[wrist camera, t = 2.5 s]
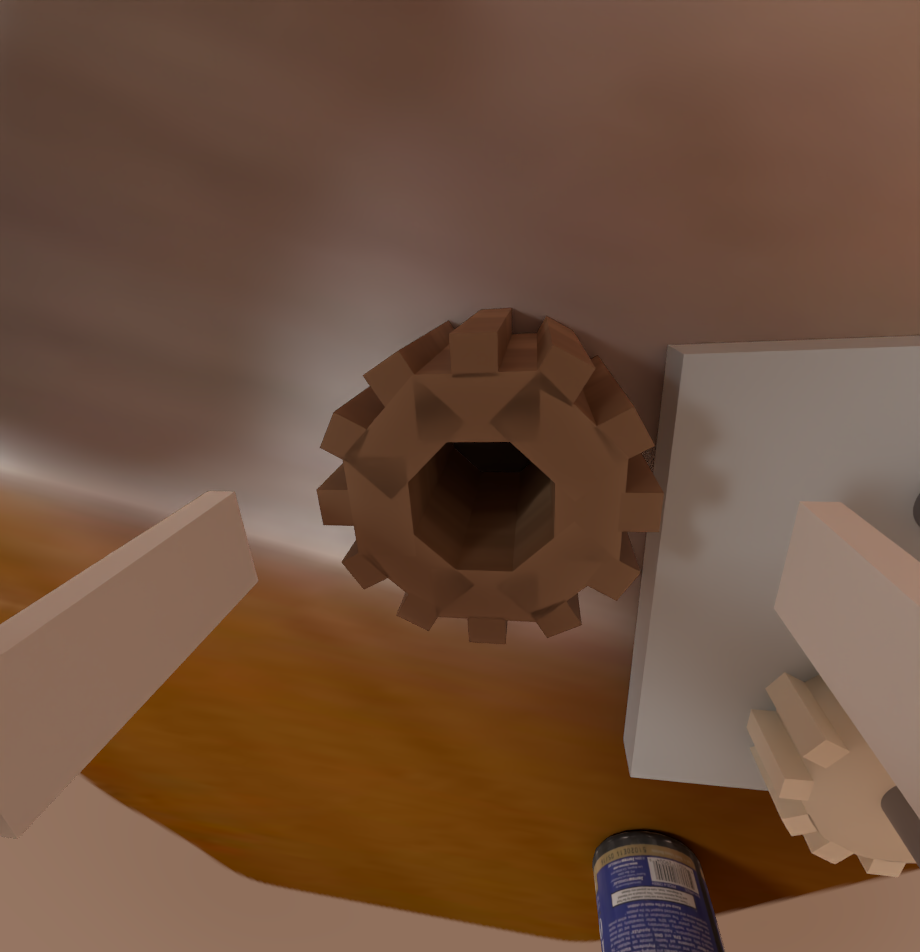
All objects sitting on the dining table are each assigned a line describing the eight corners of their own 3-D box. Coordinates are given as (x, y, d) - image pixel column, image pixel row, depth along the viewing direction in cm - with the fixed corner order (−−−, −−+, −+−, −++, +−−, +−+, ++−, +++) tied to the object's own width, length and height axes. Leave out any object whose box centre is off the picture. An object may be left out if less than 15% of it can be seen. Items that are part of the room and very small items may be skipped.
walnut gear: (402, 525, 21) (345, 634, 15) (376, 314, 18) (286, 341, 11) (609, 529, 20) (644, 652, 13) (627, 302, 16) (685, 323, 10)
